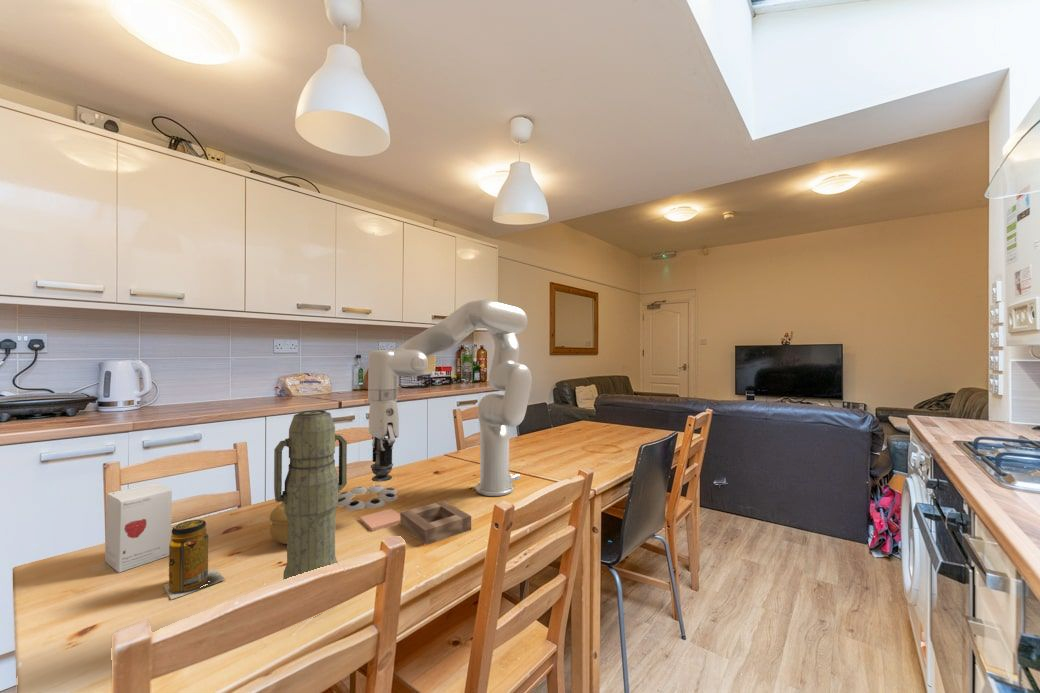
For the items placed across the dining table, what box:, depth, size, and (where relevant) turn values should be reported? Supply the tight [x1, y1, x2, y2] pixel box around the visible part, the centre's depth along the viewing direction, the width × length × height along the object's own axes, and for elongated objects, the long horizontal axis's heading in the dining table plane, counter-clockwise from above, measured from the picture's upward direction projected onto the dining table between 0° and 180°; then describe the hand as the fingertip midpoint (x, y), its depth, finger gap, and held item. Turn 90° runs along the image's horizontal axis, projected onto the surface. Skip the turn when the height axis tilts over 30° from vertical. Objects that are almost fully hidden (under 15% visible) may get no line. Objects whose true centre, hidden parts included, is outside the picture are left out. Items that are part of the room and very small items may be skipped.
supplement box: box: [104, 482, 173, 573], centre depth 91 cm, size 9×9×15 cm
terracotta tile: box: [359, 508, 400, 532], centre depth 111 cm, size 9×9×1 cm
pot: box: [269, 502, 287, 545], centre depth 101 cm, size 12×12×10 cm
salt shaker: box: [370, 437, 394, 483], centre depth 111 cm, size 6×6×12 cm
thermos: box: [273, 409, 348, 580], centre depth 75 cm, size 9×12×35 cm
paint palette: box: [337, 484, 399, 511], centre depth 128 cm, size 20×20×2 cm
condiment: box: [162, 519, 226, 600], centre depth 82 cm, size 7×8×12 cm
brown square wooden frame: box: [399, 500, 472, 546], centre depth 107 cm, size 13×14×4 cm
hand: (382, 462), depth 111 cm, fingers closed on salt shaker, 4 cm apart
